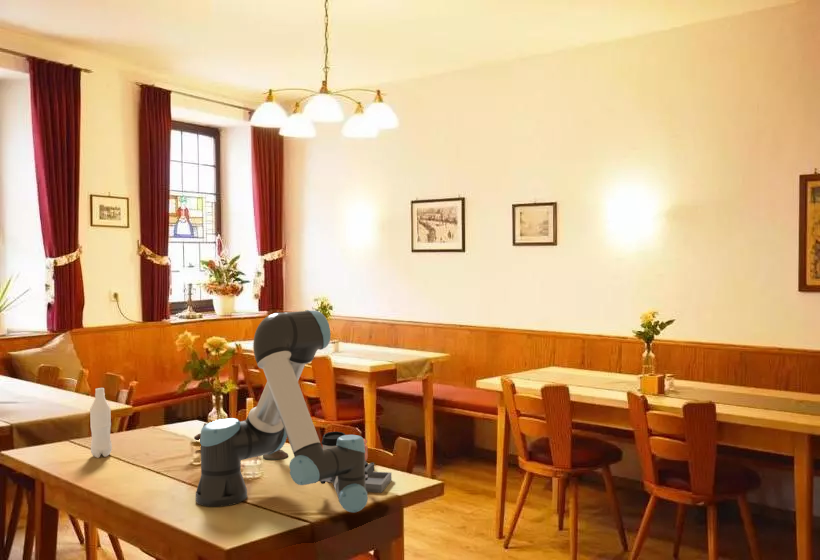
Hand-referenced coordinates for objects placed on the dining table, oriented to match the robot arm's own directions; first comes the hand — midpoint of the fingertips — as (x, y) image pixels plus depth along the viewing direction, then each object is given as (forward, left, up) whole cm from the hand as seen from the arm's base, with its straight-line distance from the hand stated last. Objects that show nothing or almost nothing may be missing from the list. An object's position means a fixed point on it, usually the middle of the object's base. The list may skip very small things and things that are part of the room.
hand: (338, 462), depth 230 cm
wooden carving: (+40, +62, -9) cm, 74 cm away
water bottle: (+20, +98, -9) cm, 100 cm away
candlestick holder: (+31, +34, -9) cm, 47 cm away
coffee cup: (+9, +4, -9) cm, 13 cm away
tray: (+6, -8, -9) cm, 13 cm away
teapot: (+26, +4, -9) cm, 27 cm away
